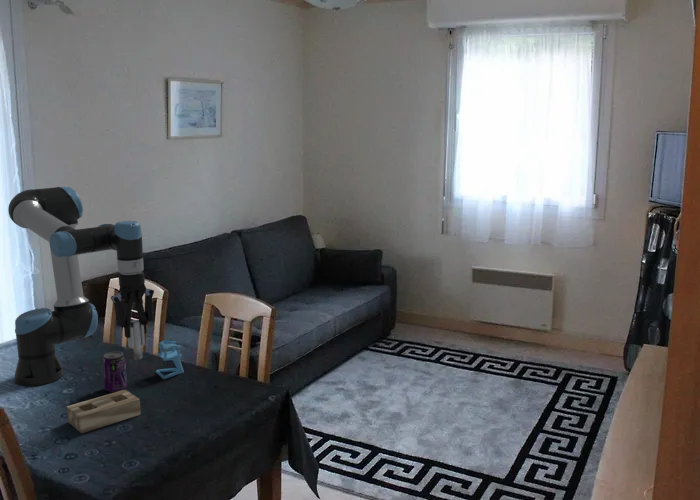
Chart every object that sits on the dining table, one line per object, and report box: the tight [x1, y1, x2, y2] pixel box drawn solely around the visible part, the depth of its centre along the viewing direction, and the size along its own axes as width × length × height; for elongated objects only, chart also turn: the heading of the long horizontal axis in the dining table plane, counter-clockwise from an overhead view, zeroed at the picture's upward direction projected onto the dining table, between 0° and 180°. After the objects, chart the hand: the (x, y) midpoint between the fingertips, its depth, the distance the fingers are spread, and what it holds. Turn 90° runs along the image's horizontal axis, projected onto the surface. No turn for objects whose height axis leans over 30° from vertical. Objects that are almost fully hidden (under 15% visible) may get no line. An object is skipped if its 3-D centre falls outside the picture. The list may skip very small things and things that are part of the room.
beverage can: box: [101, 351, 128, 393], centre depth 225 cm, size 7×7×12 cm
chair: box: [155, 339, 184, 380], centre depth 238 cm, size 8×8×12 cm
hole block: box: [66, 389, 142, 434], centre depth 204 cm, size 10×18×5 cm, turn 133°
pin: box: [131, 319, 144, 361], centre depth 212 cm, size 3×3×12 cm
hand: (136, 345), depth 212 cm, fingers closed on pin, 3 cm apart
